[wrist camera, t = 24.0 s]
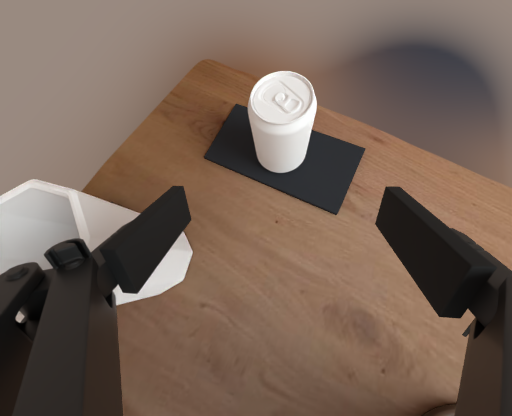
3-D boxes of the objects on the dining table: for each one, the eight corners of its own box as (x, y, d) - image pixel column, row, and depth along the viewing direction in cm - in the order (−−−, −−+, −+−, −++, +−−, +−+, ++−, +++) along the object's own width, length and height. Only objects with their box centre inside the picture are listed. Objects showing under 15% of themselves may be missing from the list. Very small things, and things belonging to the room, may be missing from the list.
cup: (113, 263, 33) (-80, 262, 15) (159, 209, 35) (34, 152, 17) (159, 311, 30) (-11, 377, 13) (207, 250, 32) (117, 233, 14)
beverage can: (280, 123, 36) (280, 56, 24) (316, 150, 34) (334, 91, 22) (247, 154, 35) (231, 100, 23) (282, 184, 33) (283, 141, 21)
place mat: (364, 150, 33) (365, 148, 33) (336, 215, 31) (337, 214, 31) (236, 105, 39) (236, 103, 38) (205, 158, 36) (203, 156, 36)
